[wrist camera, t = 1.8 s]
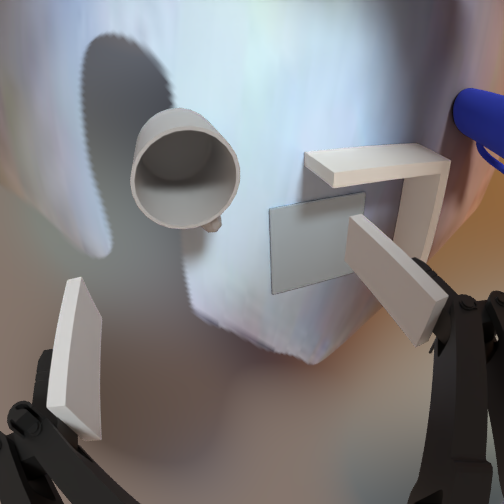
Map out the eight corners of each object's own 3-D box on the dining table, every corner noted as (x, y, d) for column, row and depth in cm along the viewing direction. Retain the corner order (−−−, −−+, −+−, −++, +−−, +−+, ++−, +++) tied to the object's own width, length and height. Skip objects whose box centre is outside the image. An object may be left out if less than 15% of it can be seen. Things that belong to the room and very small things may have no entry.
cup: (195, 92, 25) (214, 106, 18) (238, 184, 31) (268, 229, 24) (121, 131, 25) (109, 161, 18) (172, 218, 31) (182, 272, 24)
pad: (269, 208, 34) (270, 209, 33) (364, 191, 36) (365, 192, 36) (271, 293, 41) (272, 294, 40) (353, 271, 43) (354, 272, 43)
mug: (456, 167, 38) (507, 198, 31) (440, 95, 31) (503, 118, 23) (485, 142, 37) (534, 168, 30) (473, 73, 30) (531, 92, 22)
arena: (304, 152, 31) (334, 172, 26) (416, 143, 34) (451, 160, 29) (301, 279, 41) (321, 311, 36) (397, 252, 44) (421, 277, 39)
